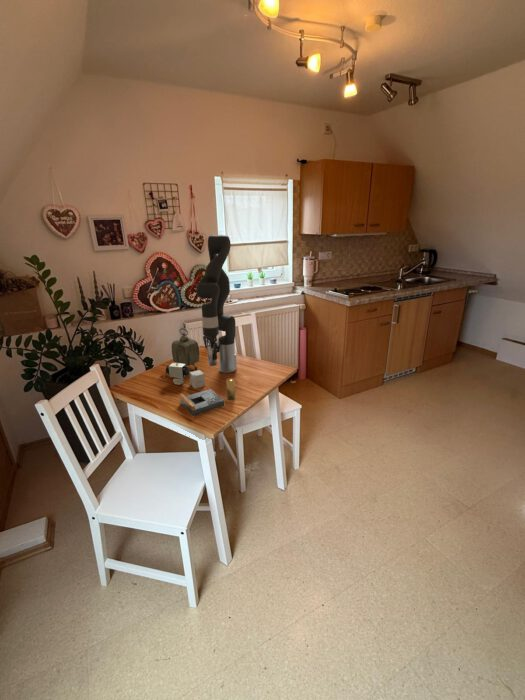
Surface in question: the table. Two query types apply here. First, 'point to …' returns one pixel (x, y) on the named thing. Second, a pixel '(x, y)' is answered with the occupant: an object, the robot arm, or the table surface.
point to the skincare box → (197, 379)
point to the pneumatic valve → (177, 372)
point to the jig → (207, 402)
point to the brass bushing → (230, 389)
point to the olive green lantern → (185, 350)
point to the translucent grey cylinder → (211, 361)
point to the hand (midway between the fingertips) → (212, 358)
